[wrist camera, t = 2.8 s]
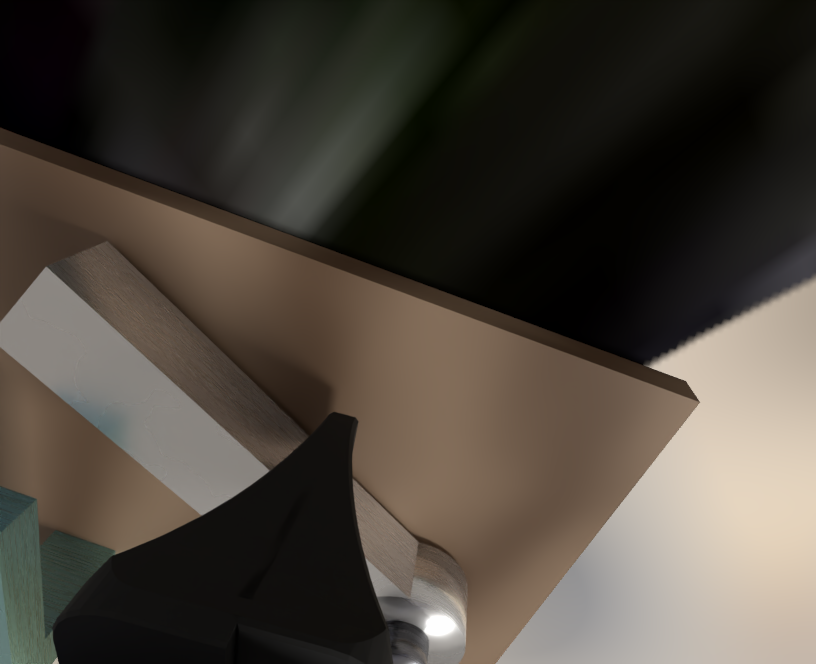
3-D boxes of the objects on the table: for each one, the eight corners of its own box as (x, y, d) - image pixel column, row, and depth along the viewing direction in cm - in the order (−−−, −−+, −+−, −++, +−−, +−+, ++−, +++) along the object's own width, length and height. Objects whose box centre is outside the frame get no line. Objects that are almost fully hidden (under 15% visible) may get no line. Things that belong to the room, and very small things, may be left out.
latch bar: (491, 596, 17) (492, 693, 14) (402, 630, 18) (388, 723, 16) (118, 228, 12) (18, 268, 10) (43, 314, 14) (-61, 367, 11)
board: (-4, 523, 21) (-25, 543, 20) (-54, 107, 13) (-93, 110, 12) (459, 685, 21) (458, 711, 20) (685, 381, 13) (700, 402, 13)
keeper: (56, 561, 20) (-55, 685, 16) (51, 393, 16) (-103, 502, 12) (113, 581, 20) (17, 709, 16) (123, 419, 16) (-5, 536, 12)
